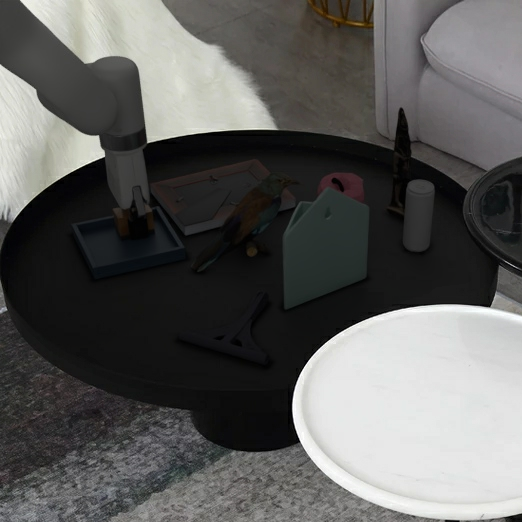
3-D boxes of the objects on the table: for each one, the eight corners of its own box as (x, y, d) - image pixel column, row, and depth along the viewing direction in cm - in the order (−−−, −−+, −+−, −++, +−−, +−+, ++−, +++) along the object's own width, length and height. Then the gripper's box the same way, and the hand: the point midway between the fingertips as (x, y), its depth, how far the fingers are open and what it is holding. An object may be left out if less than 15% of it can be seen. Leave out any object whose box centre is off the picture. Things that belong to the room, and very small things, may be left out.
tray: (94, 279, 164) (92, 268, 162) (73, 235, 173) (70, 223, 172) (186, 259, 170) (185, 247, 168) (160, 217, 179) (158, 205, 178)
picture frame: (185, 237, 175) (295, 209, 183) (184, 225, 173) (295, 197, 182) (151, 194, 185) (256, 169, 194) (149, 182, 183) (256, 157, 192)
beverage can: (420, 256, 173) (426, 196, 166) (397, 247, 175) (401, 187, 167) (434, 244, 177) (440, 184, 169) (411, 235, 178) (415, 176, 171)
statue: (412, 226, 181) (420, 124, 168) (382, 212, 184) (387, 111, 171) (426, 218, 183) (435, 117, 170) (396, 203, 187) (403, 103, 174)
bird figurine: (209, 285, 163) (257, 173, 157) (177, 259, 168) (223, 149, 163) (268, 296, 173) (315, 191, 167) (236, 271, 179) (281, 168, 173)
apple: (363, 238, 177) (365, 189, 170) (314, 235, 177) (315, 186, 170) (365, 210, 184) (368, 162, 178) (319, 207, 184) (319, 159, 178)
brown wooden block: (121, 241, 171) (117, 218, 168) (115, 230, 174) (112, 208, 171) (155, 233, 174) (152, 211, 171) (149, 223, 176) (146, 201, 173)
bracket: (305, 313, 160) (305, 299, 158) (264, 367, 149) (263, 352, 147) (225, 291, 163) (224, 277, 161) (179, 342, 153) (177, 328, 151)
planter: (340, 256, 172) (342, 152, 160) (367, 278, 168) (372, 173, 155) (259, 286, 165) (255, 180, 152) (285, 310, 160) (283, 203, 147)
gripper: (86, 117, 166) (102, 212, 178) (113, 163, 155) (128, 261, 167) (131, 110, 168) (143, 204, 180) (160, 154, 157) (171, 251, 169)
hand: (135, 230), depth 173 cm, fingers closed on brown wooden block, 3 cm apart
